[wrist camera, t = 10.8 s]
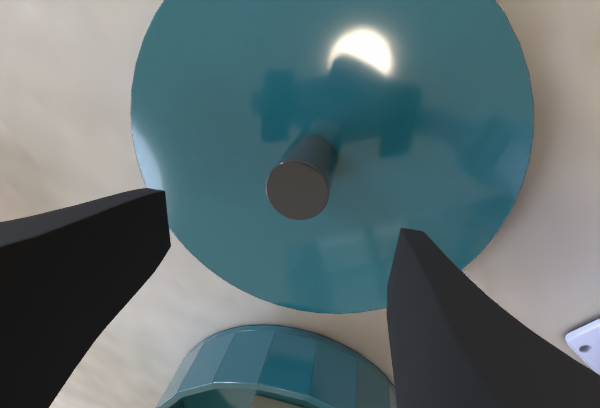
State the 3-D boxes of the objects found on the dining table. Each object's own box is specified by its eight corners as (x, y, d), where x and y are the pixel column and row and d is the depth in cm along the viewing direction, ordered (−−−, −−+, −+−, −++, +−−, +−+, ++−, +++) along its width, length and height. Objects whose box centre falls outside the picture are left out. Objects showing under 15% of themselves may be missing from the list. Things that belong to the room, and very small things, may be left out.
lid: (618, 154, 15) (716, 200, 10) (323, 346, 22) (311, 417, 18) (301, -216, 12) (260, -356, 8) (88, 153, 20) (11, 185, 15)
